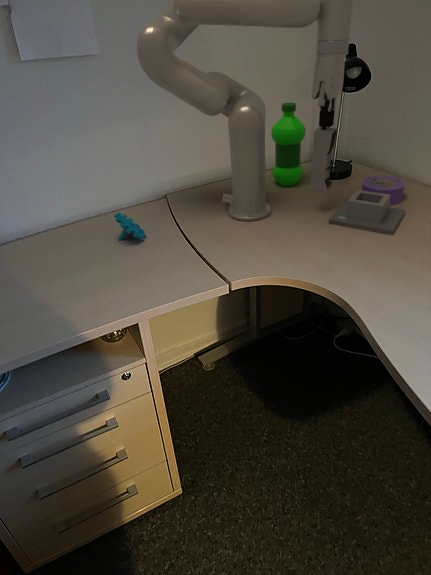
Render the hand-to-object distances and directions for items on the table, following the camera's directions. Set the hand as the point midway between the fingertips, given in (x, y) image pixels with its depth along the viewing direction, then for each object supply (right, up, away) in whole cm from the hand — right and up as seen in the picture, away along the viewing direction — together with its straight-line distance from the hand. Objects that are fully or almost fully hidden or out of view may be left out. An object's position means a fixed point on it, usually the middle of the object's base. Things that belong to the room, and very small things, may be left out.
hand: (326, 125), depth 122 cm
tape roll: (+21, -16, +19) cm, 32 cm away
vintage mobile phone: (+1, -15, +10) cm, 18 cm away
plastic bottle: (-5, -8, +33) cm, 34 cm away
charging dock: (+13, -23, +7) cm, 28 cm away
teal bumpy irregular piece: (-52, -29, +8) cm, 60 cm away
